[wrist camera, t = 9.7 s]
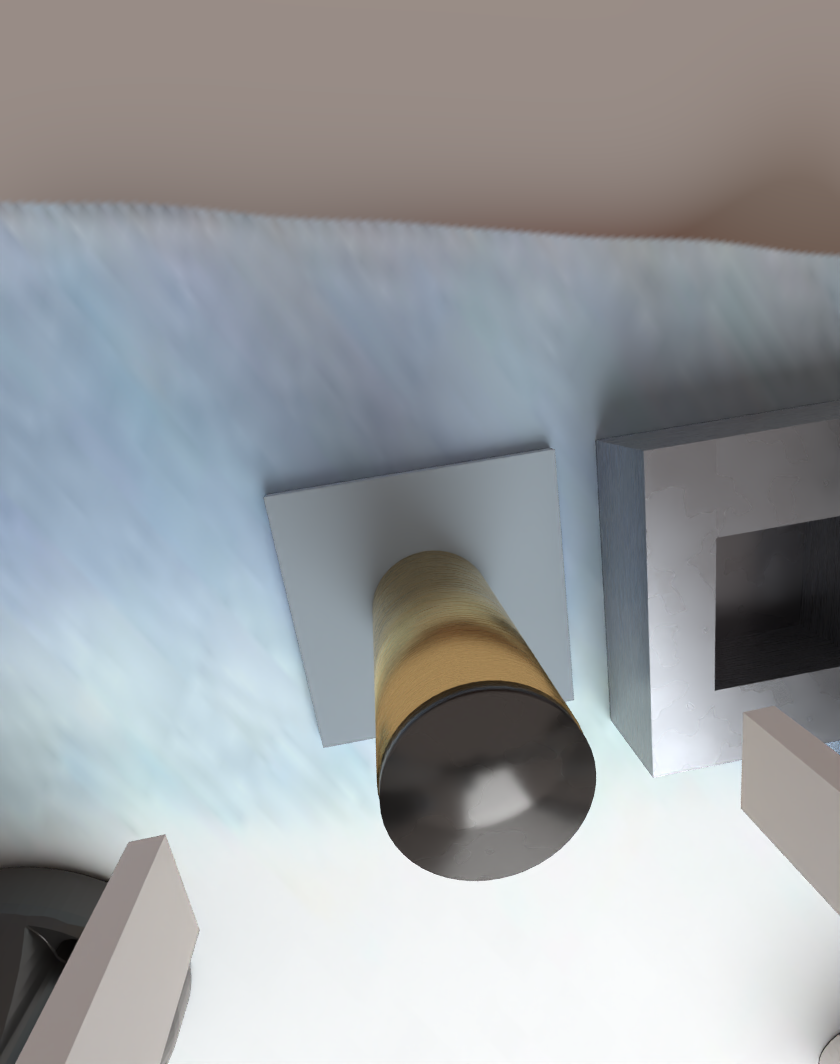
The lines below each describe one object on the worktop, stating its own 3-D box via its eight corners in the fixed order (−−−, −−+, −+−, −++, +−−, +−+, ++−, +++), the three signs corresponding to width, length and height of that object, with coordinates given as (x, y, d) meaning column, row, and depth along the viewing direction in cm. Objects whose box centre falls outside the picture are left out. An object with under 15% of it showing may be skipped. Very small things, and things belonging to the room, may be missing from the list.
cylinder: (381, 670, 23) (395, 901, 12) (363, 560, 22) (360, 715, 11) (495, 650, 23) (602, 859, 13) (484, 541, 22) (593, 674, 11)
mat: (324, 739, 25) (323, 747, 24) (266, 494, 21) (263, 497, 21) (569, 692, 25) (574, 699, 25) (549, 447, 22) (554, 449, 21)
